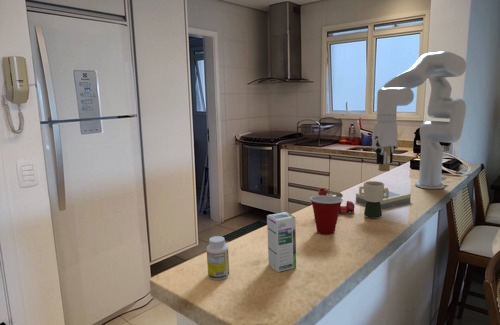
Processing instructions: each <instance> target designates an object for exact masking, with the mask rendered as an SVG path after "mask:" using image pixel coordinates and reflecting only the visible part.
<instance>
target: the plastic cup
mask: <svg viewBox="0 0 500 325" xmlns="http://www.w3.org/2000/svg"><path fill="white" fill-rule="evenodd" d="M335 196H336V195H326V196H323V195H322V196H319V195H314V196H313V195H312V196H310V197H309V200H310V201H311V205H312V209H313V210H312V211H313V216H314V223H315V228H316V231H317V233H318V234H320V235H323V236H331V235H334V233H335V231H336V227H337V223H338V217H339V215H340V213H339V209H340V206H342V205H341V204H342V202H343V201H344V200H343V197H342V198H340V197H335Z"/></svg>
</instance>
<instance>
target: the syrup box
mask: <svg viewBox="0 0 500 325" xmlns="http://www.w3.org/2000/svg"><path fill="white" fill-rule="evenodd" d="M266 226H267V227H266V228H267V229H266V230H267V254H268V255H267V256H268V258H267V261H268V265H270V267H271V268H272V269H273V270H274V271H276V272H277V273H281V272H284V271H288V270H292V269H296V268H297V235H296V233H297V232H296V228H297V227H296V226H297V225H296V216H295V215H293V214H291V213H289V212H287V211H284V212H278V213H273V214H267V215H266Z"/></svg>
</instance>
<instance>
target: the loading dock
mask: <svg viewBox="0 0 500 325" xmlns="http://www.w3.org/2000/svg"><path fill="white" fill-rule="evenodd" d="M384 189H385V190H389V188H388V187H384ZM362 193H364V191H363V192H362ZM411 194H412V193H404V194H400V193H396V192H392V191H389V198H388V199H386V198H383V201H381V202H380V204H381V210H383V209H387V208H391V207H395V206H399V205H403V204H407V203H411V196H412V195H411ZM384 196H386V192H384ZM355 202H356V203H360V204H362V205H365V206H366V202H367V201H366V200H364V195H360V194H359V192H358V193H355Z"/></svg>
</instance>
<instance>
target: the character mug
mask: <svg viewBox="0 0 500 325" xmlns="http://www.w3.org/2000/svg"><path fill="white" fill-rule="evenodd" d="M384 188H385V183H383V182H381V181H374V180H372V181H371V180H370V181H365V182H363V186H361V185H360V186H359V189H358V193H359V194H360V195H364V200H366V201H367V202H366V205H365V206H364V213H363V215H364V216H365V217H366V218H368V219H369V218H370V219H378V218H381V217H382V209H381V204H380V202H381V201H383V198H386V199H388V198H389V192H390V190H389V189H388V190H385V189H384ZM362 191H363V192H364V193H362ZM384 192H386V196H384Z"/></svg>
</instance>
